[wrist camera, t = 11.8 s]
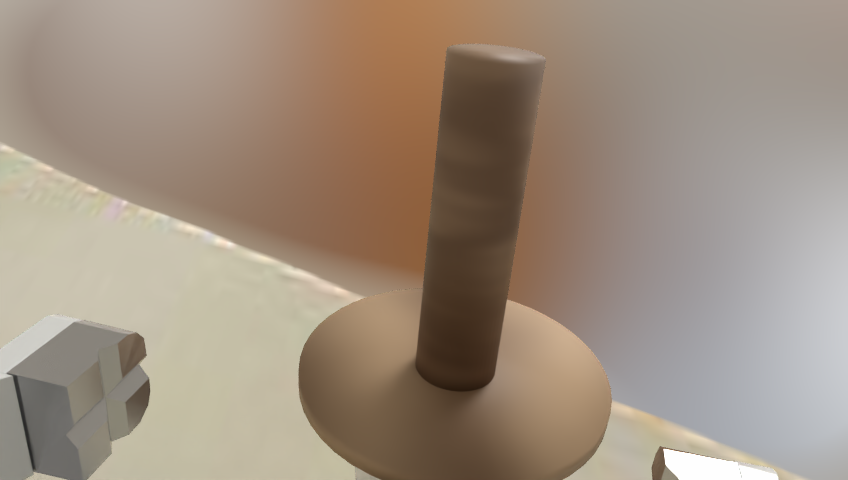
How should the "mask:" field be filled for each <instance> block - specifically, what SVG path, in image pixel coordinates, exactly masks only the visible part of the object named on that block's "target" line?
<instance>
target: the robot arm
mask: <svg viewBox="0 0 848 480" xmlns="http://www.w3.org/2000/svg"><path fill="white" fill-rule="evenodd" d="M146 356H147V355H146V349H145V343H144V338H143V337H142V336H140V335H139V334H138V333H136V332H132V331H128V330H123V329H119V328H115V327H111V326H107V325H103V324H99V323H95V322H90V321H86V320H80V319H76V318H72V317H68V316H63V315H59V314H56V315H48V316H46V317H45V318H43V319H42V320H40V321H39V322H37V323H36V324H35V325H33V326H32V327H30V328H29V329H27V330H26V331H25V332H23V333H22V334H20V335H19V336H17V337H16V338H15V339H13V340H12V341H10V342H9V343H7V344H6V345H5V346H3V347H2V348H0V480H24V479H26V478H28V477H30V476H32V475H33V474H34V473H33V472H37V473H41V474H46V475H50V476H55V477H59V478H63V479H68V480H87V479H88V478H89V477H90V476H91V475H92V474H93V473H94V472H95V471H96V470H97V468H98V467H99V466H100V465H101V464H102V463H103V462H104V461H105V460H106V459H107V458H108V457H109V456H110V455H111V453H112V441H114V440H117V439H119V438H122V437H124V436H126V435H129V434H130V433H131V432H132V431H133V429H134V428H135V427H136V426H137V425H138V424H139V423H140V421H141V419H142V417H143V415H144V413H145V410H146V408H147V406H148V402H149V395H150V384H149V377H148V376H147V375H146V373H145V372H144V371H143V369H142V368H141V367H140V365H139V364H140V363H141V362H142V361H143V359H144V358H145V357H146ZM652 478H653V480H779V478H778V475H777V473H776V472H775V471H774V470H773V469H772V468H769V467H764V466H759V465H753V464H748V463H743V462H738V461H733V462H731V461H727V460H723V459H718V458H713V457H708V456H704V455H699V454H694V453H689V452H685V451H680V450H675V449H671V448H666V447H661V446H660V447H659V449H658V451H657V453H656V455H655V458H654V462H653V465H652Z"/></svg>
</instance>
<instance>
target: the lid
mask: <svg viewBox="0 0 848 480" xmlns="http://www.w3.org/2000/svg"><path fill="white" fill-rule="evenodd" d="M545 62H546V59H545V58H544V57H543V56H541V55H539V54H537V53H534V52H531V51H527V50H523V49H518V48H513V47H506V46H499V45H489V44H458V45H452V46H450V47H448V48H447V51H446V61H445V71H444V82H443V91H442V101H441V112H440V121H439V131H438V142H437V151H436V161H435V172H434V182H433V192H432V202H431V212H430V222H429V232H428V243H427V252H426V262H425V272H424V282H423V288H415V289H405V290H397V291H391V292H386V293H382V294H377V295H374V296H370V297H367V298H364V299H361V300H359V301H356V302H353V303H351V304H349V305H347V306H345V307H343V308H341V309H340V310H338V311H336V312H335V313H333V314H332V315H330V316H329V317H328V318H326V319H325V320H324V321H323V322H322V323H320V324H319V325H318V327H317V328H316V329H315V330H314V331H313V332H312V333H311V335H310V336H309V338H308V340H307V342H306V343H305V345H304V348H303V350H302V353H301V356H300V363H299V395H300V400H301V404H302V407H303V410H304V413H305V415H306V417H307V419H308V421H309V422H310V424H311V426H312V427H313V429H314V430H315V431H316V433H317V434H318V435H319V437H320V438H321V439H322V440H323V441H324V442H325V443H326V444H327V445H328V446H329V447H330V448H331V449H332V450H333V451H334V452H335V453H337V454H338V455H339V456H341V457H342V458H343V459H345V460H346V461H347V462H349V463H350V464H352V465H353V466H355V467H357V468H359V469H360V470H362V471H364V472H366V473H367V474H369V475H371V476H373V477H376V478H378V479H380V480H563V479H564V478H566V477H568V476H570V475H571V474H573V473H574V472H575V471H577V470H578V469H579V468H581V467H582V466H583V465H584V464H585V463H586V462H587V461H588V460H589V459H590V458H591V457H592V456H593V455H594V453H595V452H596V450H597V448H598V447H599V445H600V444H601V442H602V439H603V437H604V434H605V431H606V428H607V424H608V420H609V416H610V411H611V403H612V398H611V388H610V385H609V382H608V378H607V375H606V373H605V371H604V369H603V367H602V365H601V363H600V362H599V361H598V359H597V358H596V356H595V355H594V354H593V352H592V351H591V350H590V349H589V348H588V347H587V346H586V345H585V344H584V343H583V342H582V341H581V340H580V339H579V338H578V337H577V336H575V335H574V334H573V333H572V332H571V331H569V330H568V329H567V328H565V327H564V326H562V325H561V324H559V323H558V322H556V321H554V320H552V319H551V318H549V317H547V316H546V315H544V314H542V313H540V312H537V311H535V310H533V309H531V308H529V307H526V306H524V305H521V304H519V303H516V302H513V301H510V300H507V295H508V290H509V283H510V278H511V272H512V265H513V259H514V253H515V247H516V240H517V235H518V228H519V221H520V216H521V209H522V204H523V198H524V191H525V185H526V179H527V172H528V167H529V161H530V154H531V148H532V142H533V136H534V130H535V124H536V118H537V110H538V105H539V99H540V93H541V87H542V80H543V74H544V68H545Z"/></svg>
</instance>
